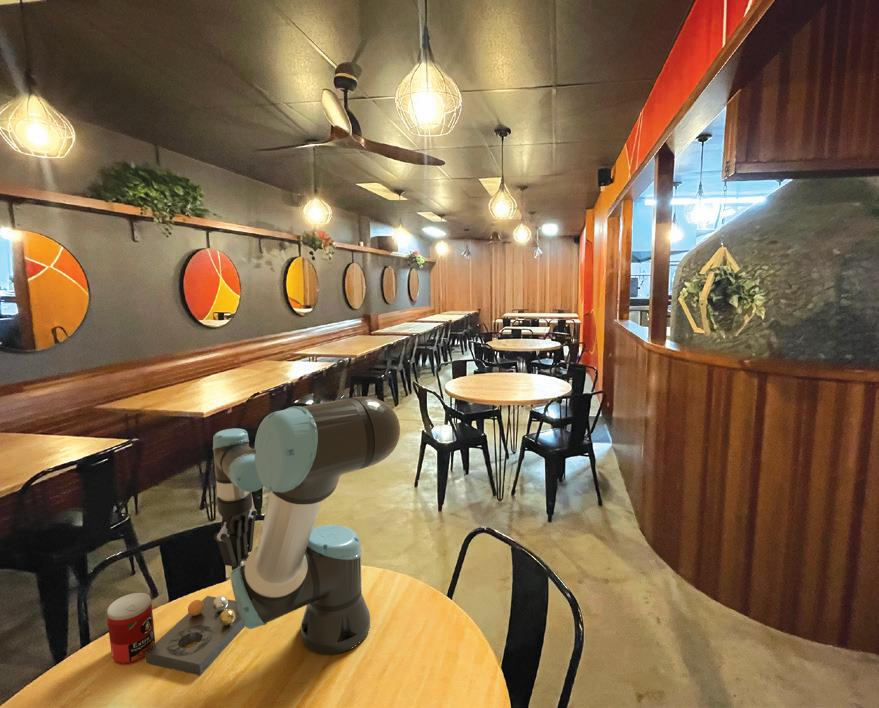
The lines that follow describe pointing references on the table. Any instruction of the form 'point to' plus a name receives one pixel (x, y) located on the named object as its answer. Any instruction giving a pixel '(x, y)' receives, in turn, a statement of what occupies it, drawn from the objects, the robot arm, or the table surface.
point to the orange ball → (195, 607)
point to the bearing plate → (195, 640)
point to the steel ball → (220, 603)
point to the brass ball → (227, 617)
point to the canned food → (130, 628)
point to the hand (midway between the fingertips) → (240, 585)
